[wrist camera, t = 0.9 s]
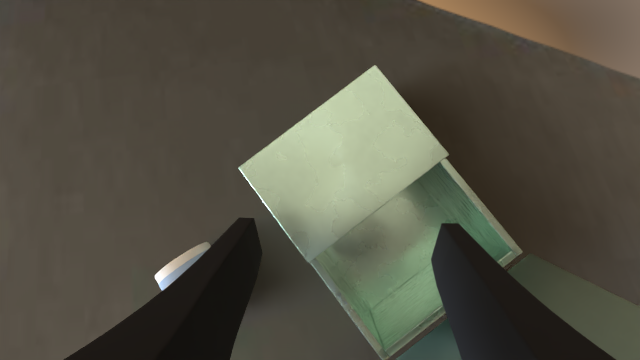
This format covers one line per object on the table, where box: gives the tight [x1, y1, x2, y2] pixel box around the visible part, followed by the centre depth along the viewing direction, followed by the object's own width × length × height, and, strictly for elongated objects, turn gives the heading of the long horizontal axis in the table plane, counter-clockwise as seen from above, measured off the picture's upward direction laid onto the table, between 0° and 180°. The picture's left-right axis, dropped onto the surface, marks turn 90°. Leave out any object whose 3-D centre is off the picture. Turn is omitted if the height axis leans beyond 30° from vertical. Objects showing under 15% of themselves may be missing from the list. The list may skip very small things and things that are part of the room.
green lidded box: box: [239, 65, 523, 360], centre depth 20 cm, size 15×11×7 cm
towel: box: [155, 242, 211, 291], centre depth 21 cm, size 4×6×4 cm
